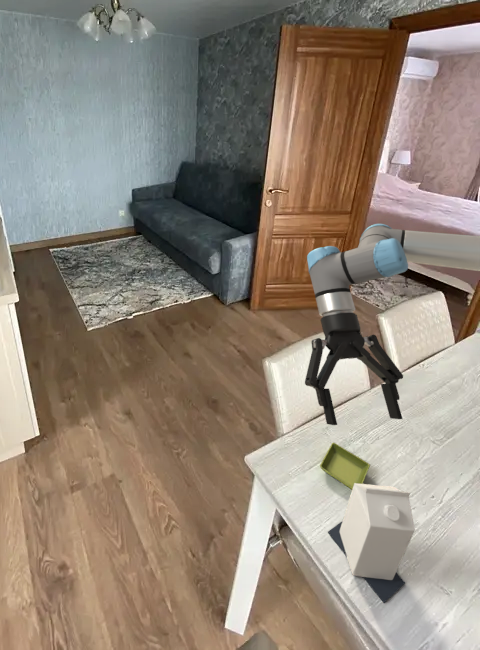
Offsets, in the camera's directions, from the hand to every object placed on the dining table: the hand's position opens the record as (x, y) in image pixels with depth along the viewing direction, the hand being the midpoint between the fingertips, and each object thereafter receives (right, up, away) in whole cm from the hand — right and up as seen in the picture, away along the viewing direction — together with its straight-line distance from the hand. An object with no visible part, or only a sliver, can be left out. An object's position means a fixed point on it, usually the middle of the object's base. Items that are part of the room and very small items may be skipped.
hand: (364, 421), depth 68 cm
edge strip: (-1, -25, -2) cm, 25 cm away
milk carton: (-1, -25, -2) cm, 25 cm away
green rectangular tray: (+2, -19, +13) cm, 23 cm away
